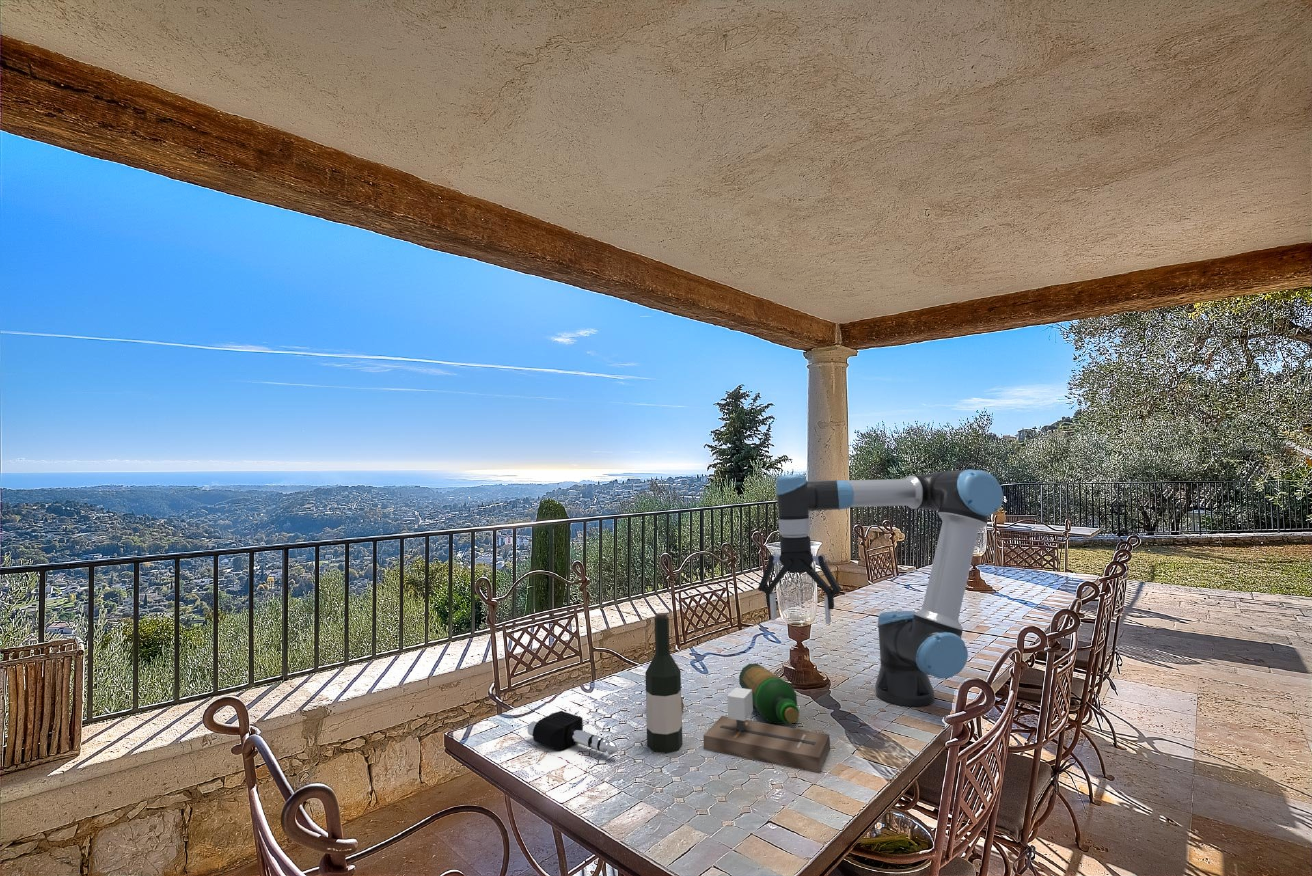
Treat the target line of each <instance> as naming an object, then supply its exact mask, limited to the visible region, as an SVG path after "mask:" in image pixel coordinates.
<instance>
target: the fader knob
mask: <svg viewBox="0 0 1312 876" xmlns="http://www.w3.org/2000/svg"><path fill="white" fill-rule="evenodd" d="M753 706H754V704H753V701H752V690H751V689H744V688H742V687H735V688H734V689H733V690H732V691H731V692H729V693H728V694H727V717H728V718H730V719H736V721H737V730H738V731H744V730H745V729H746V726H745V720H748V718H749V717H750V716H751V715H752V713H753V712H754V708H753Z"/></svg>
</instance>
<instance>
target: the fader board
mask: <svg viewBox="0 0 1312 876" xmlns="http://www.w3.org/2000/svg"><path fill="white" fill-rule="evenodd" d="M745 726H746V729H745V730H744V731H738V730H737V721H736V719H730V718H728V716H726V715H725V716H724V715H721V716H720V717H719V718H718V719H717V721H716V722H714V723H713V725H712V726H711V727H710V728H709V729H708V730H707V731H706V732H705V733H704V734H703V749H704V750H707V751H708V750H709V751H713V752H718V753H722V754H726V755H731V756H737V757H742V758H746V759H750V760H751V759H752V760H758V761H760V762H764V763H765V762H766V763H771V764H775V765H776V764H777V765H781V766H785V767H791V768H796V769H801V770H804V771H810V772H815V773H821V770H822V768H823V765H824V763H825V760H826V759H827V757H828V754H829V752H830V750H831V739H830V738H831V737H830V734H829V733H823V732H817V731H812V730H806V729H801V728H795V727H788V726H782V725H776V724H773V723H771V724H770V723H766V722H765V723H764V722H760V721H759V722H758V721H754V720H748V719H746V720H745Z"/></svg>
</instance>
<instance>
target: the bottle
mask: <svg viewBox="0 0 1312 876" xmlns="http://www.w3.org/2000/svg"><path fill="white" fill-rule="evenodd" d="M738 680H739V686H740V688H744V689H751V690H752V701H753V706H754V707H755V708H756V710H757V712H758V713H759V714H760V715H761V717H762V718H763V719H764V720H765V721H768V722H770V723H771V724H782V723H786V724H794V723H795V722H797V721H798V719H799V718H800V711H799V710H800V709H799V708H798V700H797V699H798V697H797V696H798V695H797V693H796V691H795V690H794V688H793V686H792V685H791V684H790V683H789V682H787V681H786V680H784V679H783V678H781V677H780V676H778V675H776V674H775V673H773V672H772V671H770V670H769V669H768V668H765V667H764V666H763V665H761V664H759V663H748V664H747V665H745V666H744V667H742V669H741V671H740V673H739V676H738Z"/></svg>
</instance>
